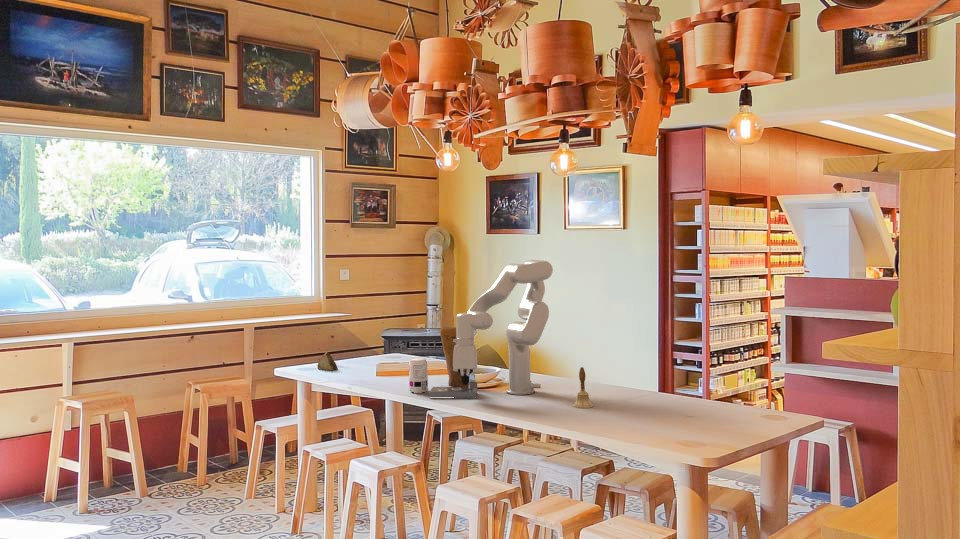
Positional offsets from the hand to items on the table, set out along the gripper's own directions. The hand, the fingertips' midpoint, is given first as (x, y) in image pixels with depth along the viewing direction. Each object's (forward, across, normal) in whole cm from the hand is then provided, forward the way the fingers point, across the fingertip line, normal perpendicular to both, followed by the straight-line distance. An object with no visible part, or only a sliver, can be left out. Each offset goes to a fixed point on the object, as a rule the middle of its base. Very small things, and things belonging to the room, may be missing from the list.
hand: (465, 384), depth 334 cm
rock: (+8, -86, +69) cm, 111 cm away
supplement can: (+7, -24, +16) cm, 30 cm away
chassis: (+7, -7, +9) cm, 13 cm away
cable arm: (0, +2, +4) cm, 5 cm away
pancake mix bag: (+7, -8, +28) cm, 30 cm away
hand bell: (+7, +50, -7) cm, 51 cm away
